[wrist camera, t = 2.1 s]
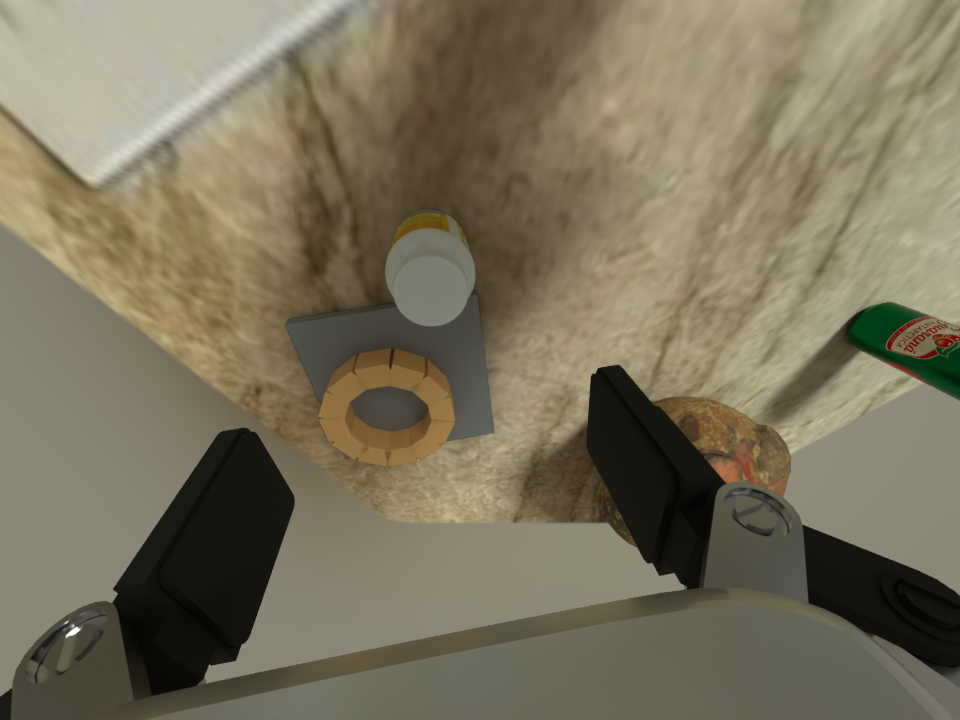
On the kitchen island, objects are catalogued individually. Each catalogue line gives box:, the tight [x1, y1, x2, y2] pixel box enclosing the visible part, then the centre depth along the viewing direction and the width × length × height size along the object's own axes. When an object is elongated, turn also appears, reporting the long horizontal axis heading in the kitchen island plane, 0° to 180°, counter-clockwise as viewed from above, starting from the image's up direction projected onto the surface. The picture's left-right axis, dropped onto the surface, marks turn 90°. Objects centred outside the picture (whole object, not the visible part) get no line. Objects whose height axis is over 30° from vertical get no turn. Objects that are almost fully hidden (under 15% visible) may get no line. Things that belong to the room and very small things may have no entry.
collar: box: [318, 348, 455, 467], centre depth 32 cm, size 11×11×2 cm
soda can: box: [847, 302, 960, 401], centre depth 32 cm, size 5×5×12 cm
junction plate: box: [285, 290, 494, 459], centre depth 33 cm, size 15×15×1 cm
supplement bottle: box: [385, 210, 476, 326], centre depth 23 cm, size 5×5×10 cm
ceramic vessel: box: [601, 397, 791, 547], centre depth 30 cm, size 17×26×25 cm, turn 36°
